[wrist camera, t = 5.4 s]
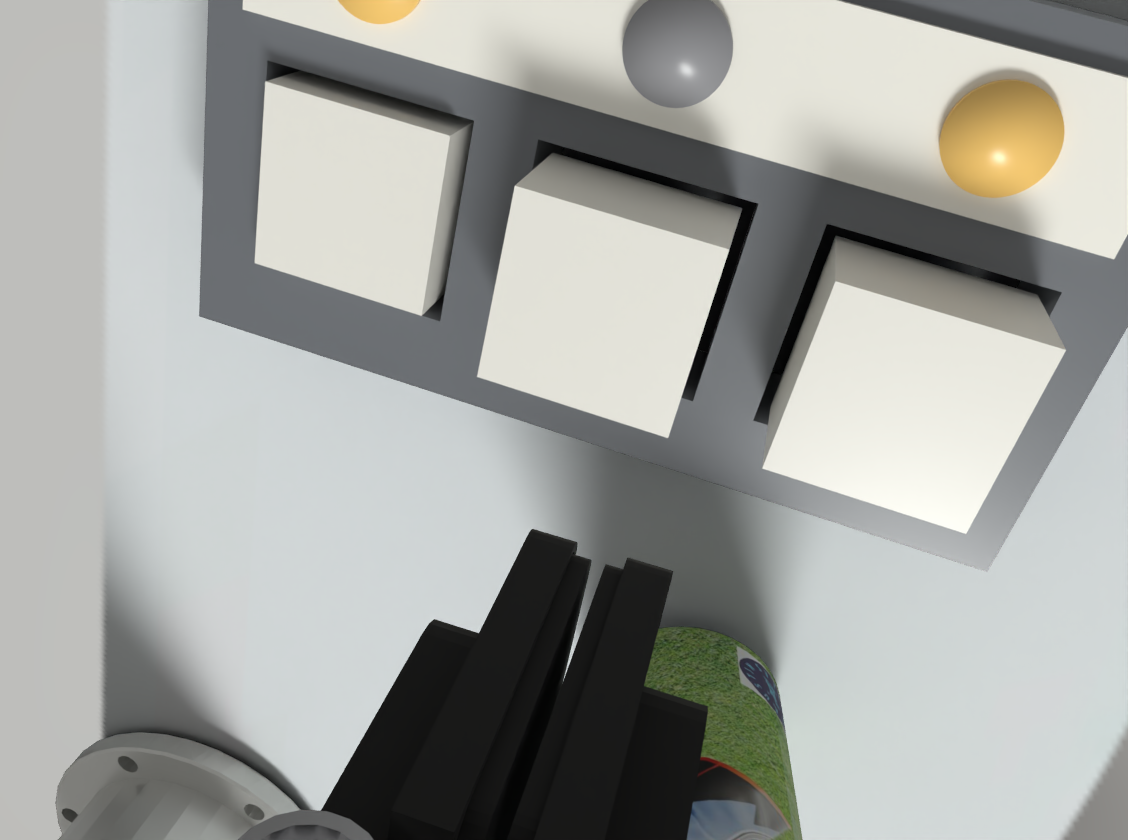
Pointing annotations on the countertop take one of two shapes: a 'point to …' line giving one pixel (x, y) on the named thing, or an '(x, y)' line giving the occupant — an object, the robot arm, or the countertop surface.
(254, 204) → the board
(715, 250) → the middle key
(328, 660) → the countertop surface
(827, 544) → the countertop surface
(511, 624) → the robot arm
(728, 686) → the beverage can
